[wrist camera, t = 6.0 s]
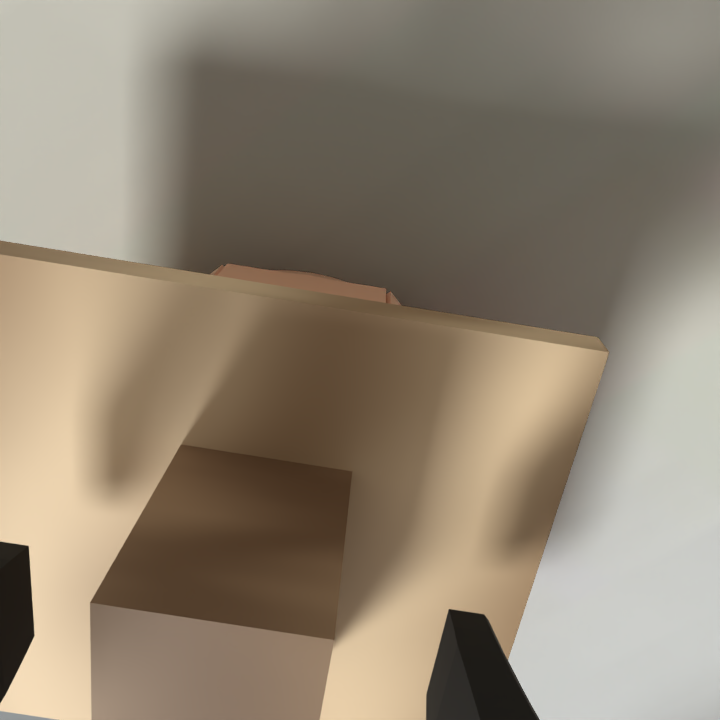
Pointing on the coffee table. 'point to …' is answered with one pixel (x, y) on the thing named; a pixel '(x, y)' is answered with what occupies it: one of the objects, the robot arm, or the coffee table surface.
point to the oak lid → (266, 487)
